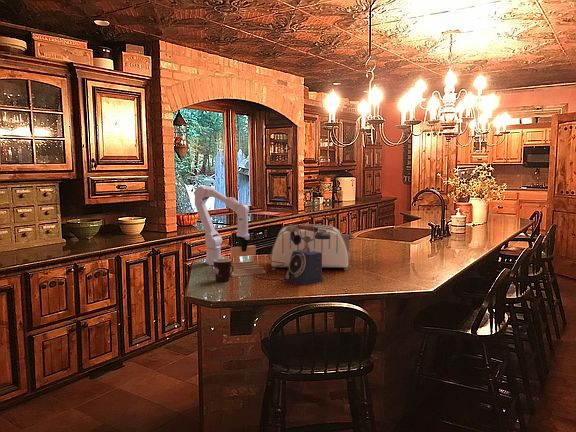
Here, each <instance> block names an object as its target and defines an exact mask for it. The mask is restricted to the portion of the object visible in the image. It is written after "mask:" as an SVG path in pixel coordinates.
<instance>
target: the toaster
mask: <svg viewBox="0 0 576 432" xmlns="http://www.w3.org/2000/svg"><path fill="white" fill-rule="evenodd" d="M295 225H296V226H297V225H298V224H295ZM304 225H307V226H313V227H317V228H318V229H321V230H327V231H328V232H329V235H330V239H315V235H316V233H315V235H314V232H315V231H314V232H313V231H308V230H302V229H300V230H301V235H302V237H305V236H309V237H310V238H311V239H313V235H314V240H313V241H310V242H308V244H309V247H310V248H311V250H312V251H316V252H320V253H322V269H323V268H327V269H329V268H331V269H332V268H340V269H341V268H343V271H348V270H349V269H348V268H349V265H350V259H351V253H350V239H352V238H354V234H353V233H350V234H343V233H341V231H340V230H339V229H338V228H337V227H335V226H332V225H327V224H304ZM288 226H289V225H287V226H284V227H283V228H282V227H281V228H282V229H281V228H280V229H281V230H279V231H280V232H279V231H278V233H279V234H278V233H277V235H278V236H277V235H276V237H277V239H276V238H275V239H276V241H275V240H274V242H275V244H274V243H273V244H274V246H273V245H272V246H273V248H272V250H271V252H270V259H271V260H272V261H275V262H272V261H270V265H271V268H272V267H275V268H272V269H271V270H274V271H277V268H288V266H289V263H290V259H291V256H292V252H293V251H295V250H302V249H304V248H305V246H306V242H305V241H304V240H303V239H302V238H301V243H300V244H299V245H295V244H294V243H293V241H292V240H291V232H288V231H285V228H287V227H288ZM300 230H299V231H297V232H294V233H295V235H300ZM318 231H319V230H318ZM300 237H301V236H300ZM277 262H282V263H277ZM283 263H285V264H284V265H283ZM279 265H282V266H279ZM276 266H278V267H276Z"/></svg>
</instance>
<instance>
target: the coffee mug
mask: <svg viewBox="0 0 576 432" xmlns="http://www.w3.org/2000/svg"><path fill="white" fill-rule="evenodd" d="M213 261H214V265H213V266H214V269H213V270H214V274H215V281H216V282H217V283H227V282H230V277H231V275H230V274H232V272H233V270H234V269H233V266H232V265H231V263H232V259H230V258H223V257H222V258H221V259H215V260H213ZM231 267H232V272H231V273H230V270H231Z"/></svg>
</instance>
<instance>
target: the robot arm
mask: <svg viewBox="0 0 576 432" xmlns="http://www.w3.org/2000/svg"><path fill="white" fill-rule="evenodd" d="M193 194H194V207H195V208H196V211H197V214H198V217H199V219H200V221H201V224H202V227H203V229H204V232H205V233H204V234H205V235H204V240H205V243H204V244H205V246H206V248H207V249H206V261H205V260H204V262H205V264H207V265H208V266H214V261H213V260H215V259H222V255H221V254H222V253H221V250H222V249H221V247H222V244H223V242H224V241H223V238H222V236H221V235H220V233H219V232H218V231H217V230H216V229H215V226H214V224H213V221H212V219H211V215H210V214H209V210H208V208H207V205H206V203H207V201H208V200H209V199H210V198H212V197H213V198H215V199H216V200H218V201H220V202H223V203H224V205H225V207H227V208H228V209H230V210H232V211H233V212H235V213H236V216H237V220H236V221H237V232H236V238H235V239H236V242H237V243H238V244H237V245H238V247H241V248H242V252H244V251H246V249H247V246H249V245H248V244H249V243H250V241H251V239H250V235H251V234H250V233H249V213H250V206H249V205H248V204H246V203H243V202H241V201H239V200H237V199H236V197H234V196H233V197H231V196H230V197H227V196H226V195H225V194H223V193H221V192H220V191H218V190H217V189H215V188H214V187H212V186H210V185H204V186H197V187H196V188H195V190H194V191H193Z"/></svg>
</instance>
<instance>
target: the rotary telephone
mask: <svg viewBox="0 0 576 432" xmlns="http://www.w3.org/2000/svg"><path fill="white" fill-rule="evenodd" d="M296 225H297V226H296ZM286 226H288V227H287V228H285V231H288V232H291V240H292V241H293V243H294V244H295V245H299V244H300V243H301V238H302V239H303V240H304V241H305V242H306V246H305V248H304V249H302V250H295V251H293V252H292V256H291V259H290V263H289V266H288V267H287V271H286V270H285V269H280V268H279V267H278V266H276V267H272V266H271V267H270V268H268V270H267V273H268V274H271V275H275V273H272V272H271V271H275V270H272V268H276V271H283V272H276V275H280V274H284V273H285V272H286V275H285V276H284V277H283V280H282V279H279V278H264V280H267V281H270V280H271V281H274V280H275V281H276V280H277V281H278V280H279V281H280V282H281V283H282V284H288V283H289V284H290V283H291V284H293V285H296V286H306V285H307V286H308V285H313V284H317V283H323V282H324V278H323V270H322V269H323V268H322V253H320V252H316V251H312V250H311V248H310V247H309V244H308V242H310V241H313V240H314V235H315V233H316V235H315V239H330V235H329V232H328V231H327V230H321V229H318V228H317V227H313V226H307V225H305V224H285V225H283V226H281V228H280V230H281V229H282V228H284V227H286ZM300 229H302V230H308V231H313V232H314V231H315V232H314V235H313V239H311V238H310V237H309V236H305V237H302V235H301V230H300ZM280 230H278V232H277V235H276V238H275V240H274V242H273V245H272V247H271V249H269V250H270V251H269V253H268V258H269V261H270V262H271V261H272V260H271V253H272V249H273V246H274V244H275V241H276V239H277V236H278V234H279V232H280ZM299 230H300V235H295V233H294V232H297V231H299ZM318 230H319V231H318ZM300 236H301V237H300ZM272 262H275V261H272ZM277 263H282V262H277ZM284 264H285V263H283V265H284ZM279 266H282V265H279ZM277 268H279V269H277ZM255 275H256V278H257V279H260V280H263V277H262V278H261V277H258V275H259V274H255Z"/></svg>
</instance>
